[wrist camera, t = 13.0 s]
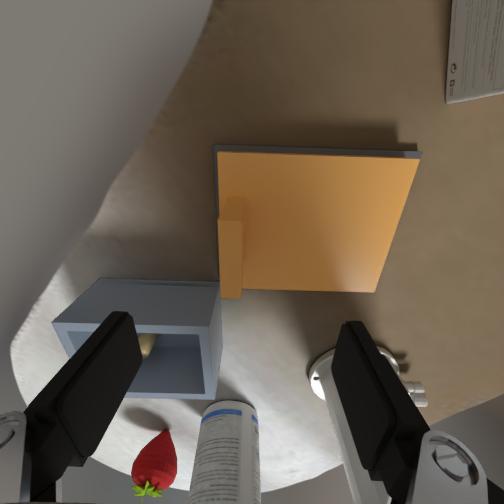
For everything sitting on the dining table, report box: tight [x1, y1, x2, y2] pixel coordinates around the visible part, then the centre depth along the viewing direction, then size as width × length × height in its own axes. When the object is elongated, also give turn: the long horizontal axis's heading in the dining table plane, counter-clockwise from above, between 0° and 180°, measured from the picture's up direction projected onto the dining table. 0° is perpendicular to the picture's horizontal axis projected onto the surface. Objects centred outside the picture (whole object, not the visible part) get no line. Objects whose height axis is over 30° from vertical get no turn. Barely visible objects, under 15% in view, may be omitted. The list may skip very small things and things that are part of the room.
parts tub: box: [51, 278, 223, 400], centre depth 25 cm, size 14×11×7 cm
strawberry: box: [131, 430, 177, 504], centre depth 37 cm, size 6×8×10 cm
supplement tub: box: [187, 400, 261, 504], centre depth 32 cm, size 10×10×15 cm
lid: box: [217, 151, 420, 299], centre depth 19 cm, size 16×13×8 cm
